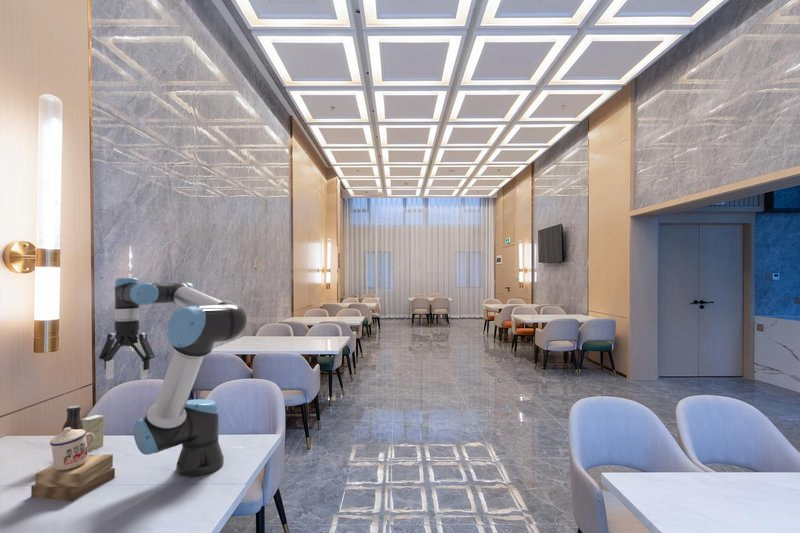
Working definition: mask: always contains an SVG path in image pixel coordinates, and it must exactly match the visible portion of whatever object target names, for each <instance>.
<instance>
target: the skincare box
mask: <svg viewBox="0 0 800 533" xmlns="http://www.w3.org/2000/svg"><path fill="white" fill-rule="evenodd" d="M80 419H81V421H82V423H83V430H84V431H85V432H86V433H93V434H94V436H95V439H94V443H93V444H92V446H91V447H89V448H88V449H87V450H88V452H90V451H93V450H96V449H99V448H101V447H104V419H105V416H104V415H103V414H94V415H91V416H88V417H84V418H80ZM90 441H91V436H90V435H88V436H86V443H87V445H88V444H89V443H90Z"/></svg>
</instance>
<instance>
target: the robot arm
mask: <svg viewBox="0 0 800 533" xmlns="http://www.w3.org/2000/svg"><path fill="white" fill-rule="evenodd" d="M150 304H151V305H153V304H154V305H155V304H176V305H178V306H180V308H178V309H176V310H175V311H174V312H173V313H172V314H171V316H170V318H169V320H168V323H167V329H168V330H167V338H168V339H167V340H168V342H169V343H170V344H171V345H170V346H171V347H172V349H173V350H174V351H173V353H172V356H171V358H170V362H169V363H168V364H169V365H168V366H167V370H166V373H165V375H164V379H163V382H162V385H161V387H160V389H159V393H158V395H157V399H156V401H155V403H153V404H152V405H151V406H150V407H148V409H147V411H146V414H145V416H144V417H139V418H138V419H136V420H135V421H134V423H133V428H132V429H133V430H132V432H133V437H134V441H135V442H134V443H135V445H136V447H137V449H138V451H139V452H140V453H141V454H143V455H145V456H146V455H147V456H148V455H153V454H158V453H159V452H162V451H165V450H168V449H171V448H174V447H177V446H180V445H182V446H181V450H180V453H179V456H178V459H177V462H176V465H175V466H176V467H175V469H176V470H175V471H176V473H177V474H178V475H179V476H183V477H197V476H204V475H207V474H210V473H213V472H215V471H217V470H218V469H221V467H222V466H223V465H224V464H225V463H224V459H225V458H224V454H223V452H222V448H221V446H220V443H219V428H220V427H219V425H220V424H219V423H220V421H219V418H220V417H219V416H220V409H219V404H218V402H217V401H215V400H214V399H213V400H212V399H206V398H205V399H204V398H203V399H202V398H201V399H199V398H198V399H189V397H190V394H191V391H192V389H193V386H194V384H195V382H196V378H197V375H198V373H199V371H200V368H201V365H202V362H203V360H204V357H206V356H209V355H210V353H212V351H213V348H214V345H215V344H216V343H220V342H226V341H231V340H234V339H236V338H238V337H239V336H240V335H241V334H242V333H243V332H244V330H245V329H246V327H247V323H248V317H247V313H246V311H245V310H244V308H243V307H242V306H241V305H239V304H238V303H235V302H233V301H230V300H223V301H222V300H220V299H218V298H216V297H213V296H210V295H208V294H205V293H204V292H202V291H199V290H196V288H195V286H194V285H193V284H192V283H191V282H183V281H179V282H143V281H141V282H140V279H139V278H138V277H119V278H117V279H115V282H114V320H115V322H114V331H115V332H113V333H108V334H106V335H107V336H106V341H105V343H104V346H103V348H102V349H101V352H100V355H99V357H98V359H99V360H102V361H104V370H105V380H110V379H114V378H115V376H114V374H115V373H114V372H115V371H114V370H115V360H114V359H113V358H114V357H115V355H116V354H117V353H118V352H119V350H120V349H121V347H131V348H133V350H134V352H136V354H137V355H138V356H139V357H140V359H141V361H139V363H140V364H139V365H140V368H139V370H140V372H139V374H140V376H139V377H140V378H139V379H140V381H141V380H142V381H143V380H147V379H148V374H149V373H148V370H149V369H150V360H153V359H155V357H156V356H155V353H154V350H153V348H152V347H151V344H150V343H149V340H148V336H147V332H142V333H139V330H140V320H139V318H140V306H144V305H150Z"/></svg>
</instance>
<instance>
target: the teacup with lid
mask: <svg viewBox="0 0 800 533" xmlns="http://www.w3.org/2000/svg"><path fill="white" fill-rule="evenodd" d="M62 429H63V428H62ZM88 435H90V436H91V441H90V443H89V444H88V445H87V443H86V436H88ZM94 439H95V436H94V434H93V433H86V432H85V431H84V430H81V429H78V430H75V429H71V427H67V428H64V429H63V432H62V431H61V432H60V433H59V434H57V435H56V436H54V437H53V438H51V439H50V442H49V445H50V446H51V454H52V459H53V464H54V467H55V469H56V470H67V469H71V468H74V467H77V466H79V465H81V464H83V463H84V462H86V461H87V459H88V455H89V451H88V450H87V449H88V448H89V447H91V446H92V444H93V443H94Z"/></svg>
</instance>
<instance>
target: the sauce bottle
mask: <svg viewBox="0 0 800 533" xmlns="http://www.w3.org/2000/svg"><path fill="white" fill-rule="evenodd" d="M81 408H82V406H81V405H70V406H68V407H67V408H66V412H67V413H66V421H65V422H64V424H63V426H62V430H61V433H62V432H63V429H64V428H67V427H71V429H75V430H78V429H81V430H83V423H82V421H81V419H82V418H81V411H82V410H81Z"/></svg>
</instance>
